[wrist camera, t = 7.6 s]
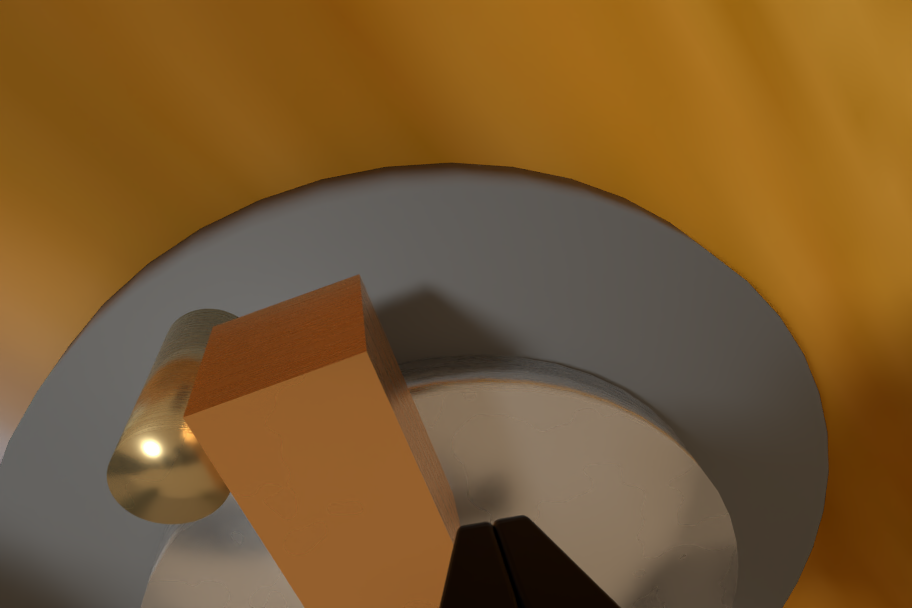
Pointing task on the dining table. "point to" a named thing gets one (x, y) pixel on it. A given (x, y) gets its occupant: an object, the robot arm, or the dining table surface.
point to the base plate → (438, 353)
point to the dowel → (169, 435)
